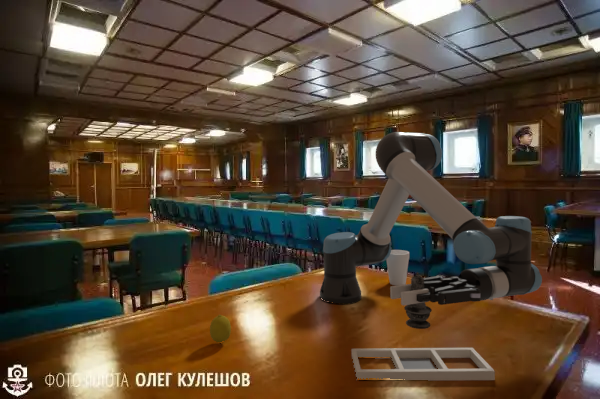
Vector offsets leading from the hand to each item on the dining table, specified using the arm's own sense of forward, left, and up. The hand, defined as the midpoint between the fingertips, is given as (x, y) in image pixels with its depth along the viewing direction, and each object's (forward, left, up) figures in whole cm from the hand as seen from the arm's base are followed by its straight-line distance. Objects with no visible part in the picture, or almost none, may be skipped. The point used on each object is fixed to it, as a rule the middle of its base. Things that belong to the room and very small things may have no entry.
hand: (396, 295), depth 78 cm
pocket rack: (+3, +4, -17) cm, 18 cm away
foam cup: (-23, +64, -18) cm, 70 cm away
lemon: (-45, -12, -18) cm, 50 cm away
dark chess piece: (+3, +4, -7) cm, 9 cm away
